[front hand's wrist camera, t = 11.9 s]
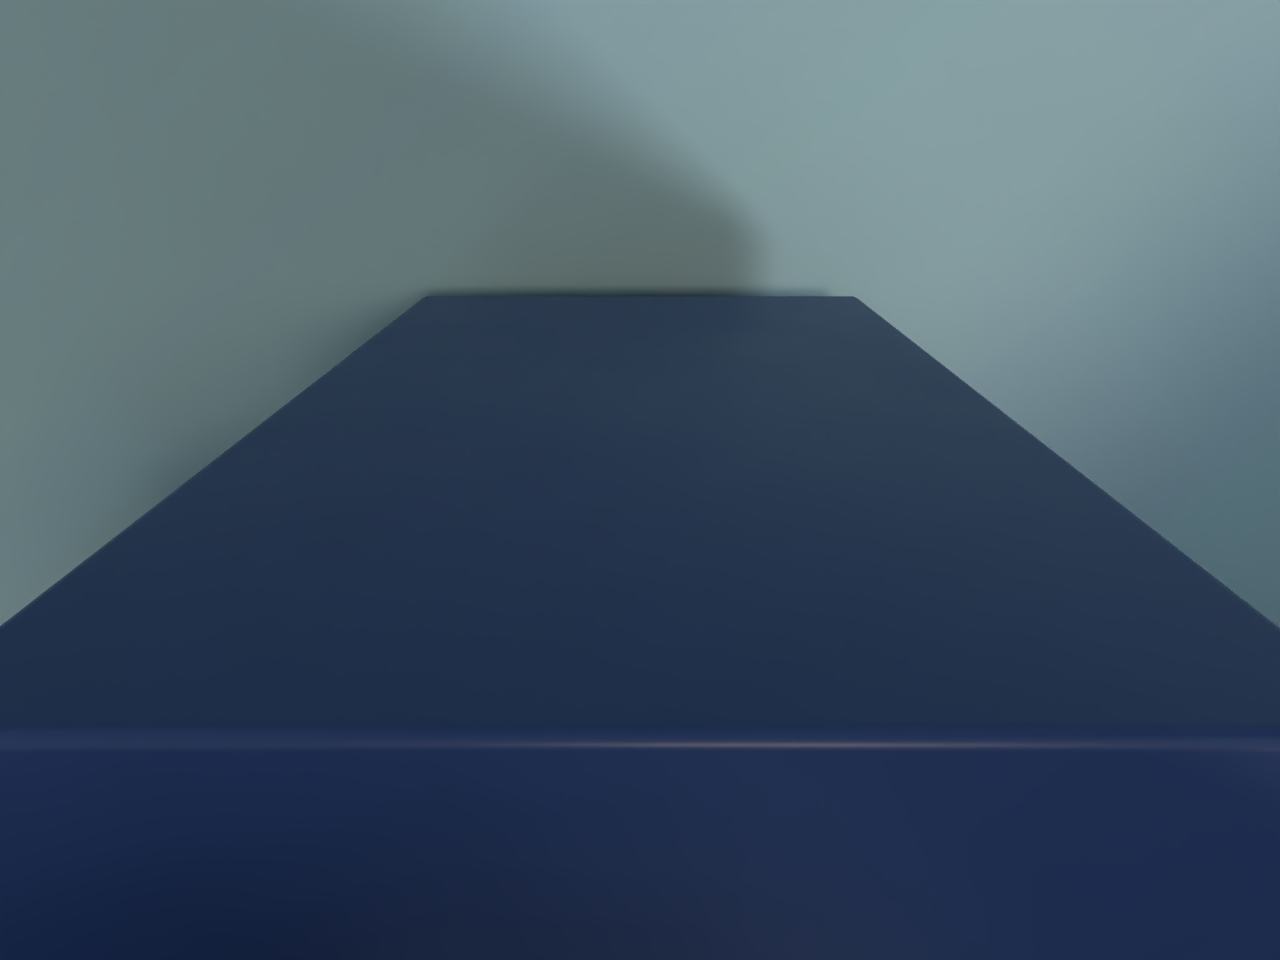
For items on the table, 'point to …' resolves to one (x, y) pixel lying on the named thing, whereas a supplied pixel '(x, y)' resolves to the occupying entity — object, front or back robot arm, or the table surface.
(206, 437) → the table surface
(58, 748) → the box
